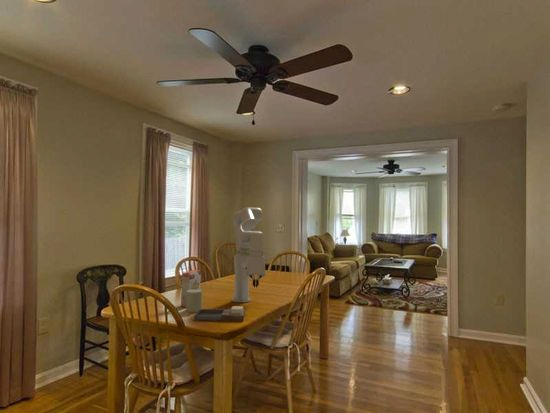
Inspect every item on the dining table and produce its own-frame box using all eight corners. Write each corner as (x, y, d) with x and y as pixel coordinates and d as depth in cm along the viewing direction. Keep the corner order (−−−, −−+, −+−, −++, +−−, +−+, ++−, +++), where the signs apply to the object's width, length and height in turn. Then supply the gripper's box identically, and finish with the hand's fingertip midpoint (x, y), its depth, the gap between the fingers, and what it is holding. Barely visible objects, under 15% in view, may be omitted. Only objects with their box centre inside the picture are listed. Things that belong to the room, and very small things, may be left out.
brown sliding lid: (224, 313, 198) (224, 308, 198) (245, 314, 198) (245, 308, 199) (220, 320, 184) (221, 315, 184) (243, 321, 184) (243, 315, 185)
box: (199, 313, 198) (199, 308, 198) (223, 313, 198) (224, 309, 198) (194, 320, 184) (194, 315, 184) (220, 320, 184) (220, 316, 184)
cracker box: (189, 307, 210) (190, 273, 211) (180, 306, 212) (181, 272, 212) (200, 302, 223) (201, 270, 224) (192, 301, 225) (193, 269, 226)
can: (202, 308, 210) (202, 288, 210) (201, 312, 201) (201, 291, 201) (186, 308, 209) (187, 288, 209) (185, 312, 199) (185, 291, 200)
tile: (232, 310, 194) (232, 306, 195) (243, 310, 195) (243, 306, 195) (231, 313, 188) (231, 308, 189) (242, 313, 189) (242, 309, 189)
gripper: (269, 253, 196) (269, 285, 196) (243, 253, 196) (242, 285, 196) (269, 254, 189) (269, 288, 188) (242, 254, 189) (241, 288, 188)
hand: (255, 286), depth 192 cm, fingers closed
